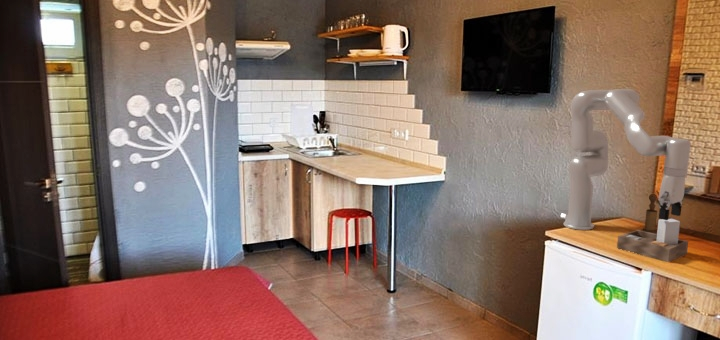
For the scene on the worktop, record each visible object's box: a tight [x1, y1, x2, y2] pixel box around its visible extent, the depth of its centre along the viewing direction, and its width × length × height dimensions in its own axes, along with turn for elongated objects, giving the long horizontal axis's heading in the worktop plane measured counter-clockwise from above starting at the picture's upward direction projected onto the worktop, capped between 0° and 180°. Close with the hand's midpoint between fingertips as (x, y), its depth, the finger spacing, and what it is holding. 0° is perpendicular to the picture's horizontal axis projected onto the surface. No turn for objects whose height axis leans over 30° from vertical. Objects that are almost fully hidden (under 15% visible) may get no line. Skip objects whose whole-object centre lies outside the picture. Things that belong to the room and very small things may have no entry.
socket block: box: [616, 229, 689, 263], centre depth 205 cm, size 19×15×5 cm
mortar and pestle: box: [640, 193, 658, 234], centre depth 223 cm, size 7×6×18 cm
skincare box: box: [656, 218, 681, 246], centre depth 202 cm, size 6×4×12 cm
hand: (669, 217), depth 201 cm, fingers open, 9 cm apart
